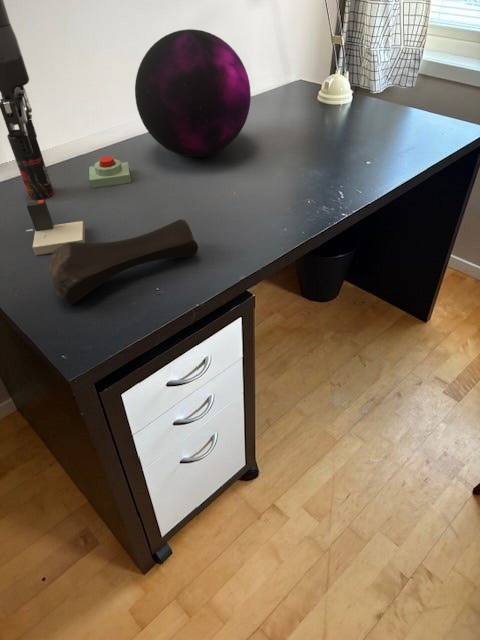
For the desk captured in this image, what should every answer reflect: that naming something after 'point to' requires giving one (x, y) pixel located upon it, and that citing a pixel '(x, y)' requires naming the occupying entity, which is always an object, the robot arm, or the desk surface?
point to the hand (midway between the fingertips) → (29, 147)
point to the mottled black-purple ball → (192, 93)
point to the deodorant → (33, 171)
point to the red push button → (107, 161)
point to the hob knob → (40, 215)
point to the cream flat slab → (58, 237)
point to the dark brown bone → (114, 258)
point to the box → (109, 174)
